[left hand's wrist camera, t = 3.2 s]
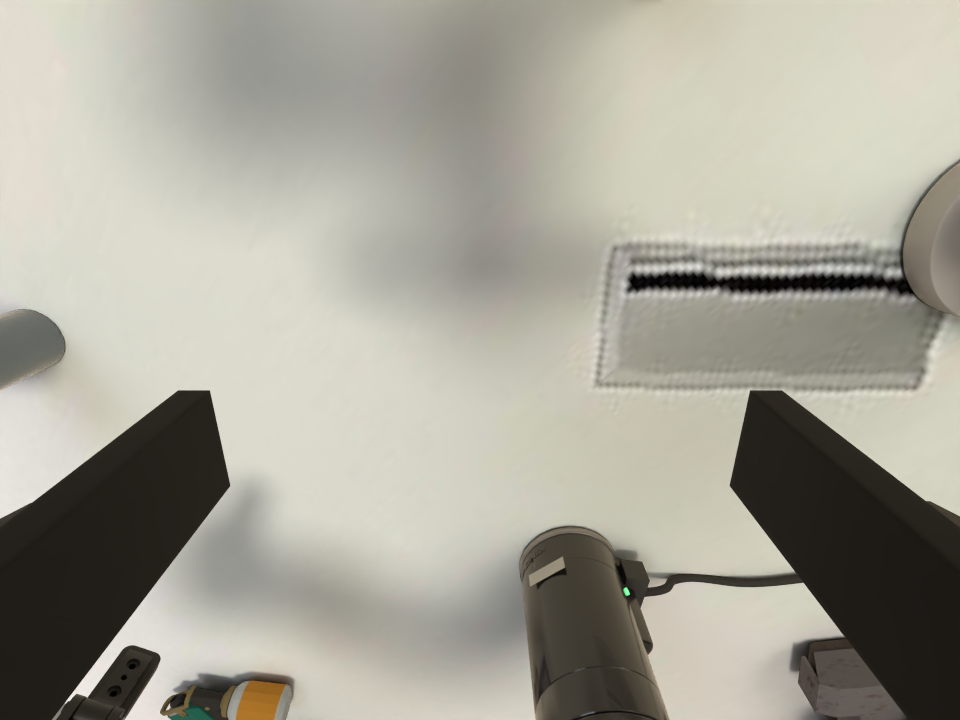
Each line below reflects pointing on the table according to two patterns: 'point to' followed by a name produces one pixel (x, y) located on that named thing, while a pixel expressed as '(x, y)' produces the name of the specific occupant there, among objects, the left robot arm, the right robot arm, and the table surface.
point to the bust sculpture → (936, 246)
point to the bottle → (27, 345)
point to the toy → (844, 684)
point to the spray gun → (231, 703)
